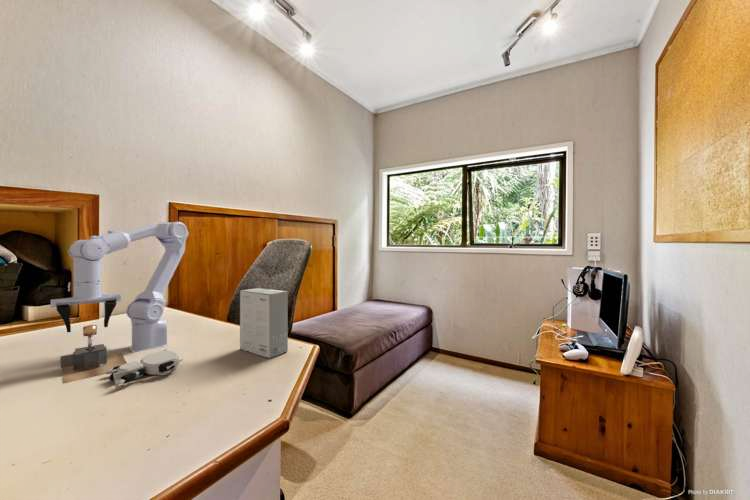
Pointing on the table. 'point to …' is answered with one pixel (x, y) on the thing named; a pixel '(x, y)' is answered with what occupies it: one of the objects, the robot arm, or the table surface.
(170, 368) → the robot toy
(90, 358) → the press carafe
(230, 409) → the table surface
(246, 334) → the hard drive box
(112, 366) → the walnut board
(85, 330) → the plunger
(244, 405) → the table surface
